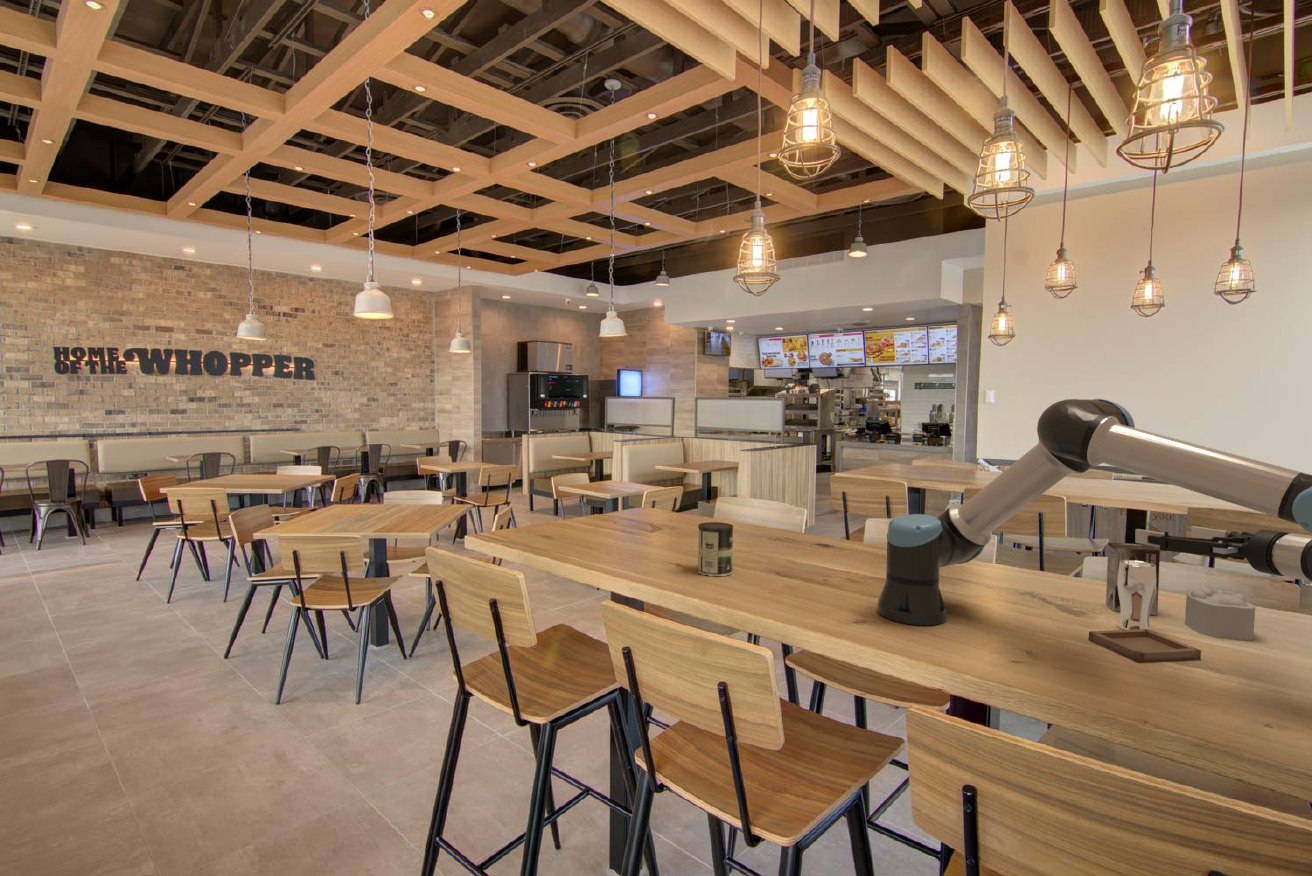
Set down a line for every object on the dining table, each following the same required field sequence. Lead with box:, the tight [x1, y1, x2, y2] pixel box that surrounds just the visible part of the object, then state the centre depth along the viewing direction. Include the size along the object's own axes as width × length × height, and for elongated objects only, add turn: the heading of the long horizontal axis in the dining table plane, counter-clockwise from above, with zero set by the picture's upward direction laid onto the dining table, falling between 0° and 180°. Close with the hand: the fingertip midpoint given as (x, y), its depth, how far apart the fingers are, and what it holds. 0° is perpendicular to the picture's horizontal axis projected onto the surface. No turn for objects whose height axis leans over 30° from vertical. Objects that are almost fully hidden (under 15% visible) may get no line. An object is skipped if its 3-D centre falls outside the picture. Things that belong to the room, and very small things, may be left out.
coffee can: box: [697, 521, 734, 577], centre depth 187 cm, size 10×10×14 cm
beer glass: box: [1117, 560, 1156, 631], centre depth 143 cm, size 7×7×15 cm
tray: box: [1088, 629, 1202, 663], centre depth 131 cm, size 14×12×2 cm
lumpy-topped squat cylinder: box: [1184, 587, 1256, 642], centre depth 143 cm, size 10×13×9 cm
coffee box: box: [1105, 541, 1161, 616], centre depth 156 cm, size 9×6×16 cm
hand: (1164, 534), depth 128 cm, fingers open, 13 cm apart
